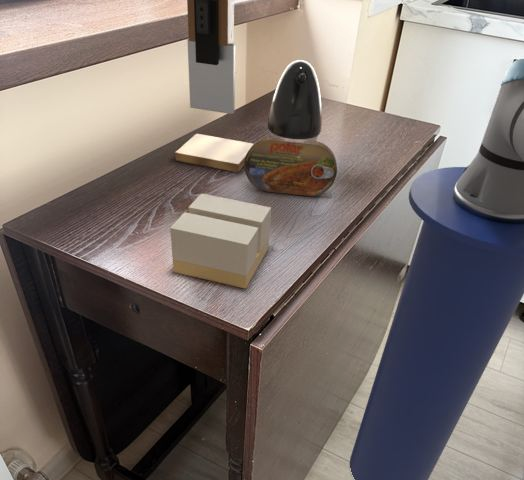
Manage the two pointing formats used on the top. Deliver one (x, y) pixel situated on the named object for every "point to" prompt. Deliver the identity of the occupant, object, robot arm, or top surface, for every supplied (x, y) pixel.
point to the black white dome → (296, 104)
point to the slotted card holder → (220, 240)
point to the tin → (290, 166)
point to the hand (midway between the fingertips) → (211, 59)
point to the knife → (213, 76)
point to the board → (214, 152)
